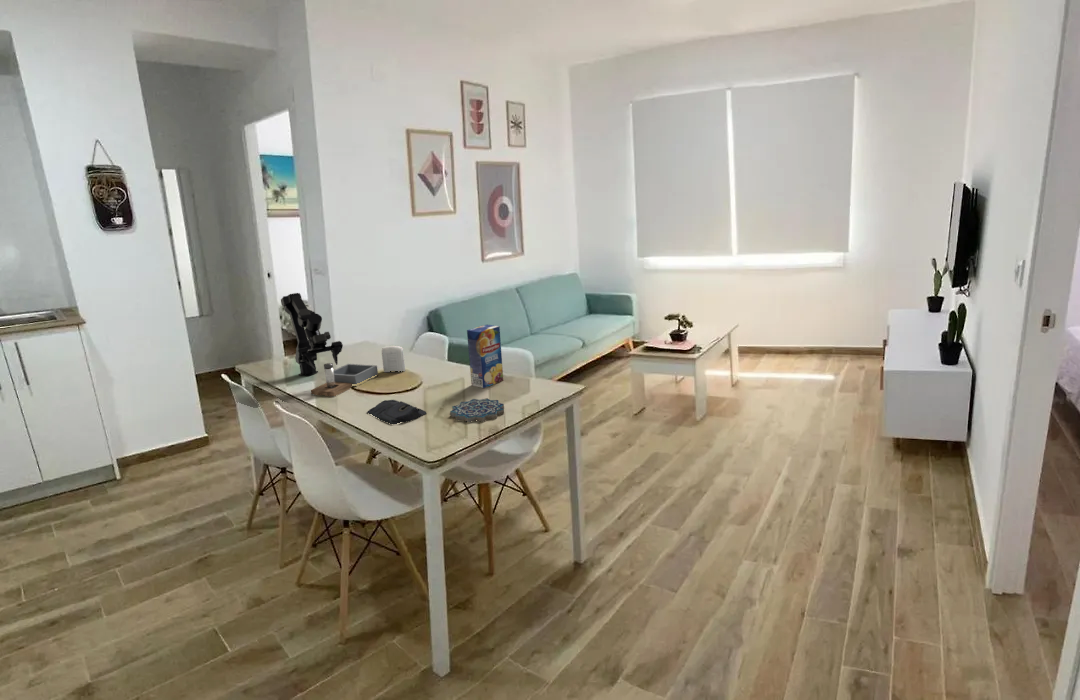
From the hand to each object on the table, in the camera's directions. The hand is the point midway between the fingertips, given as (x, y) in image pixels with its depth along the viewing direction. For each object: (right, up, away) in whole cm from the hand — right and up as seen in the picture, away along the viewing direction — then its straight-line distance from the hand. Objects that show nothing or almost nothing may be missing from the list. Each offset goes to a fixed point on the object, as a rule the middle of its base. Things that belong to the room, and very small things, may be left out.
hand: (326, 366), depth 263 cm
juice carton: (+69, -7, 0) cm, 69 cm away
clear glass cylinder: (+2, -11, 0) cm, 11 cm away
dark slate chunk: (+37, -18, -30) cm, 51 cm away
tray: (+7, -6, +15) cm, 17 cm away
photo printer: (+24, -3, +24) cm, 34 cm away
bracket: (+2, -10, 0) cm, 11 cm away
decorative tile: (+68, -17, -34) cm, 78 cm away
